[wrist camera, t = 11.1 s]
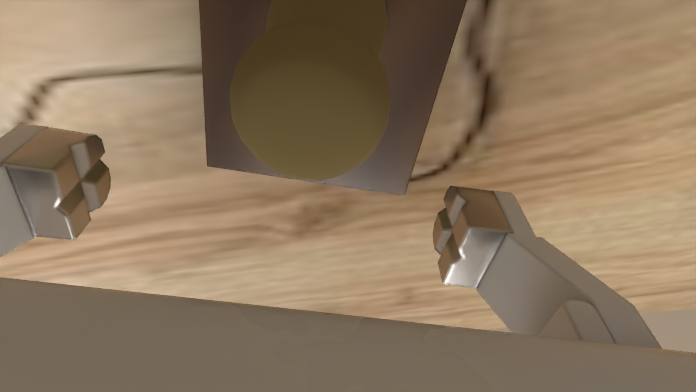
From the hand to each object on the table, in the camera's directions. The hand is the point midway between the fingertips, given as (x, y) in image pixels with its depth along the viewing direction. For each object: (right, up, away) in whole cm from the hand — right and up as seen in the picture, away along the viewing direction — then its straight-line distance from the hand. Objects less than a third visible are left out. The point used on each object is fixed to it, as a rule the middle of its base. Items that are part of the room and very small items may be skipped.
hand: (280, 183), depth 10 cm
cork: (+1, +8, +11) cm, 14 cm away
